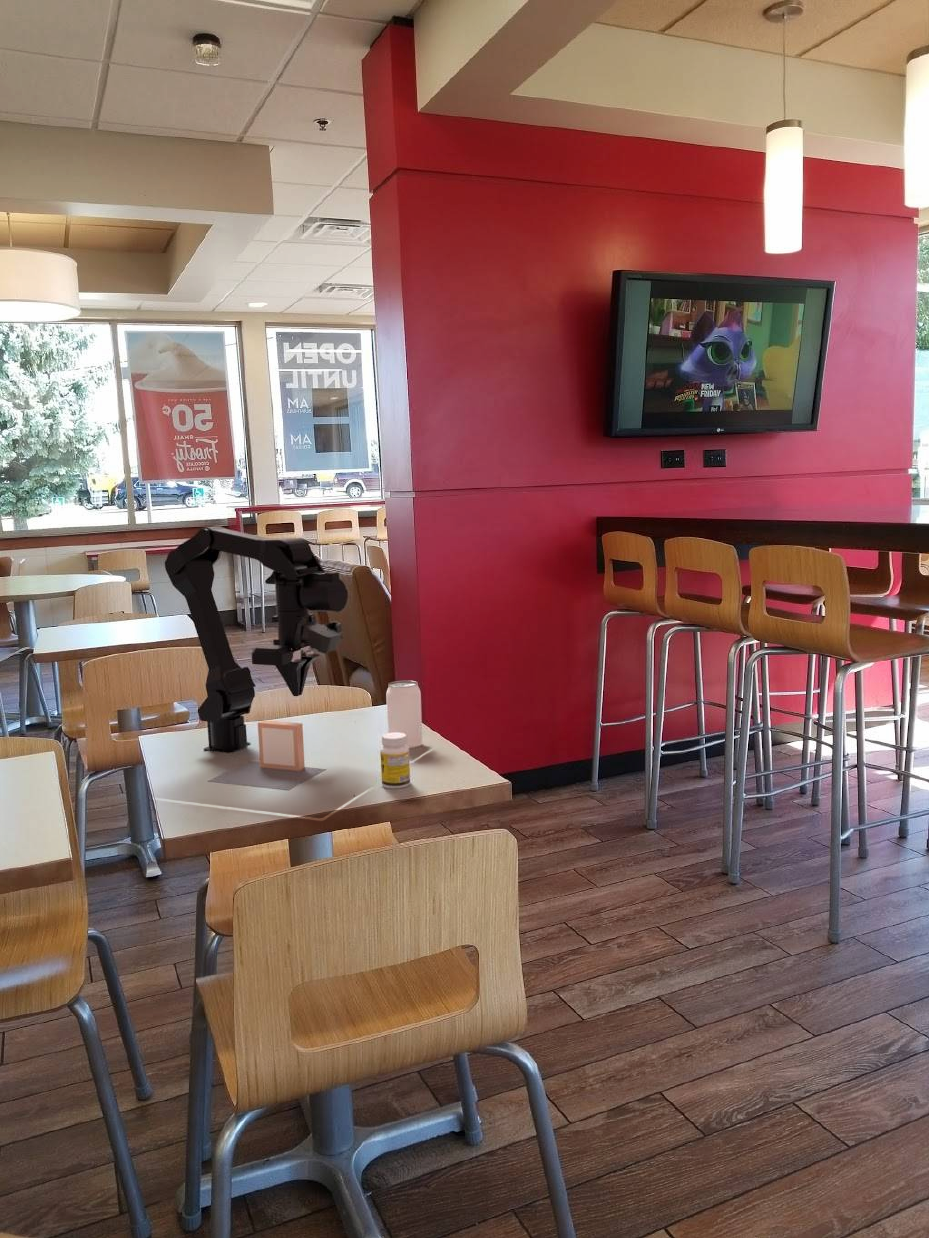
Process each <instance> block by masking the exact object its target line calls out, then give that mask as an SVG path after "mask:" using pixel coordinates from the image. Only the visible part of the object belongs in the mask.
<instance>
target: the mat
mask: <svg viewBox="0 0 929 1238" xmlns="http://www.w3.org/2000/svg"><path fill="white" fill-rule="evenodd" d="M326 770H327V768H319V767H311V766H310V767H309V766H305V768H304V769H302V770H300V771H294V770H284V769H275V768H265V767H260V761H247V762H245V763H243V764H240V765H238V766H237V767H234V768H232V769H230V770H228V771H226V772H223V773H221V774H219V775H217V776H215V777H213V778H211V779H209V780H208V782H212V783H219V784H220V783H221V784H228V785H234V786H235V785H236V786H247V787H256V788H265V789H272V790H281V791H290V790H292V789H294V788H295V787H297V786H299V785H301V784H303V783H304V782H306V781H308V780H309V779H312V778H313V777H315V776H317V775H319V774H320V773H322V772H323V773H324V772H325V771H326Z"/></svg>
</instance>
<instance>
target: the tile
mask: <svg viewBox="0 0 929 1238" xmlns="http://www.w3.org/2000/svg"><path fill="white" fill-rule="evenodd" d="M303 726H304V725H303V723H299V722H290V721H289V722H288V721H287V722H286V721H276V720H275V721H273V720H261V721H259V722H257V731H258V732H257V733H258V735H257V736H258V750H259V752H258V753H259V762H260V767H265V768H275V769H284V770H294V771H300V770H302V769H304V768H305V767H306V766H305V749H304V748H305V747H304V745H305V743H304V730H303Z"/></svg>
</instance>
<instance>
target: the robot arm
mask: <svg viewBox="0 0 929 1238" xmlns="http://www.w3.org/2000/svg"><path fill="white" fill-rule="evenodd" d="M222 552H223V553H226V554H227V553H228V554H232V555H236V556H240V557H245V558H249V559H252V560H255V561H258V562H259V563H261V564H262V566H263V567H265V568H267V569H269V570H271V571H272V573H271V574H270V575H269V576H268V577H267V578H266V579H265V581H264V582H265V584H266V585H275V586H274V587H275V589H274V590H275V591H274V592H275V603H276V604H275V608H276V615H273V616H271V622H272V623H277V624H276V625H277V626H276V627H277V638H274V639H272V640H273V641H272V642H273V644H265V645H261V646H257V647H255V648H254V649H253V650H252V652H251V654H250V655H251V665H258V666H259V665H261V666H274V667H275V668H276V669H277V671H278V672H279V674H280V675H281V677H282V678H283V680H284V682H285V684H286V686H287V687H288V690H289V691H290V694H291V695H292V696H293V697H299V696H302V695H303V692H304V688H305V685H306V684H305V683H306V680H307V676H308V672H309V670H310V666H311V664H312V663H314V662H315V661H316V660H317V659H319V658H320V654H317V653H314V650H312V649H315V650H317V652H319V653H321V654H329V653H330V652H333V651H334V652H335V651H337V650H338V645H339V642H340V641H343V640H344V636H343V626H342V623H340V622H338V621H336V620H335V621H330V622H329V623H327V624H320V623H317V616H316V615H315V613H310V611H313V612H314V611H315V612H331V613H339V612H341V611H343V609H344V608H345V607H346V605H347V603H348V598H349V596H348V595H349V592H348V589H347V587H346V584H345V582H344V581H343V580H341V579H340V573H339V572H338V571H332V572H331V571H330V572H326V571H325V569H324V568H323V566H322V565H321V563H320V562H319V559H317V557H316V555H315V553H314V552H313V550H312V548H311V546H310V544H309V541H308V540H306V539H305V538H303V537H279V538H277V537H276V538H268V537H265V536H259V535H255V534H250V533H246V532H241V531H238V530H232V529H227V528H225V527H223V526H206V527H205V526H204V527H203V528H201V529H200V530H198V531H197V532H196V533H195V535H194V536H192V537H190V538H189V539H187V540H185V541H184V542H182V543H180V544H179V545H178V546H177V547H176V548H175V549H173V550H170V552H169V553H168V554H167V556H166V559H165V561H164V567H165V568H164V569H165V572H166V573H167V576H168V578H169V580H170V583H171V584H172V586H173V587H174V588H175V589H176V590H177V591H178V592H179V593H180V594H181V595H182V596H183V597H184V598H185V600H186V603H187V607H188V609H189V613H190V616H191V619H192V621H193V625H194V628H195V631H196V635H197V637H198V640H199V643H200V647H201V650H202V652H203V656H204V659H205V662H206V664H207V668H208V671H207V677H206V681H205V690H206V695H207V697H206V698H205V699H204V701H203V702H202V703H201V705H200V706H199V708H198V709H197V714H198V716H199V717H198V718H199V720H200V721H202V722H205V723H207V724H206V725H207V737H208V738H207V739H208V741H207V742H208V746H206V747H204V748H203V752H208V751H209V752H217V753H227V754H229V753H234V752H236V751H238V750H241V749H243V748H246V747H248V746H250V745H251V742H249V741H248V736H247V735H248V734H247V725H246V724H245V716H244V715H248V714H250V713H251V709H252V704H253V701H254V698H255V697H256V692H255V687H256V684H255V683H254V681H253V678H252V674H251V669H250V668H249V667H248V666H243V667H241V665H239V664H238V663H237V662H236V661H235V658H234V655H233V652H232V649H231V647H230V643H229V640H228V638H227V634H226V630H225V628H224V624H223V621H222V618H221V616H220V612H219V610H218V607H217V603H216V599H215V598H214V594H213V591H212V590H213V589H212V588H213V583H214V579H215V570H214V565H215V564H216V563H217V562H218V561H219V560H220V558H221V555H222Z"/></svg>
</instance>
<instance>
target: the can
mask: <svg viewBox="0 0 929 1238" xmlns="http://www.w3.org/2000/svg"><path fill="white" fill-rule="evenodd" d="M418 684H419V682H417V681H414V680H397V681H392V682H390V683H388V688H387V690H386V692H385V693H386V696H385V698H386V718H387V719H386V720H387V733H392V732H399V733H404V734H406V740H407V742H406V744H405V745H407V746H408V748H409V749H411V748H417V747H420V746H422V744H423V727H422V726H423V724H422V722H423V721H422V694H421V690H420V687H419V685H418Z"/></svg>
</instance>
